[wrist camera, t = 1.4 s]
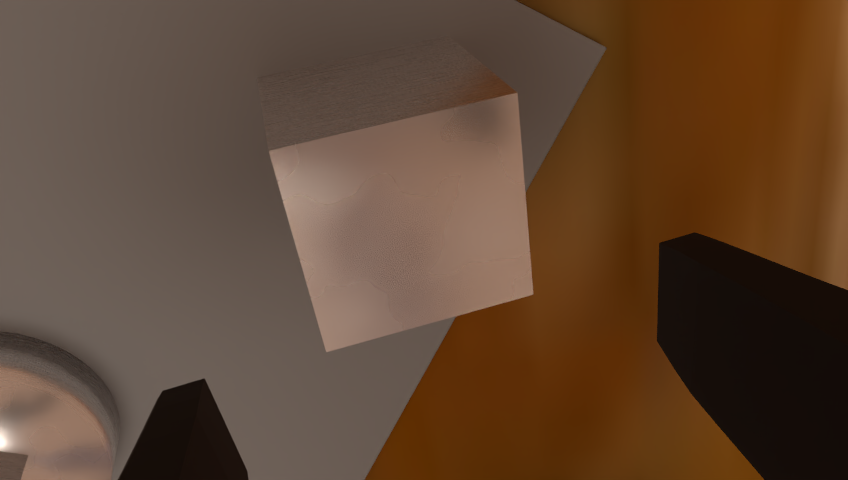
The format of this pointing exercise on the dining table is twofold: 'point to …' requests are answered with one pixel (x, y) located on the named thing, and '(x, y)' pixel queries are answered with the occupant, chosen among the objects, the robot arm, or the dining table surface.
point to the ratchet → (53, 414)
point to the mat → (218, 205)
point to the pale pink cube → (400, 187)
